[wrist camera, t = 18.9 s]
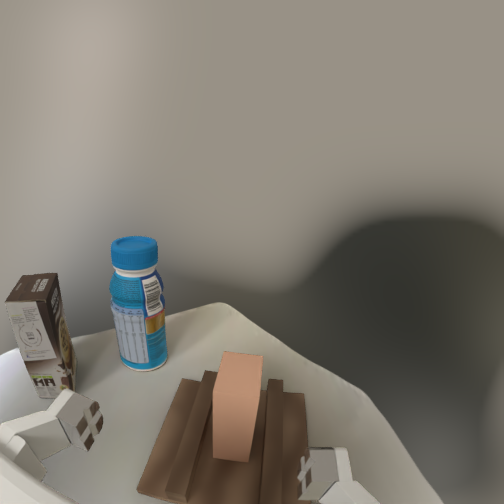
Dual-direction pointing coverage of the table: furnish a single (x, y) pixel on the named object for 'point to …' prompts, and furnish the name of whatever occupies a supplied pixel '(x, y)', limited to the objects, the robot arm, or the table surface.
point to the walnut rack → (219, 470)
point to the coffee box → (43, 333)
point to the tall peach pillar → (236, 405)
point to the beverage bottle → (138, 303)
